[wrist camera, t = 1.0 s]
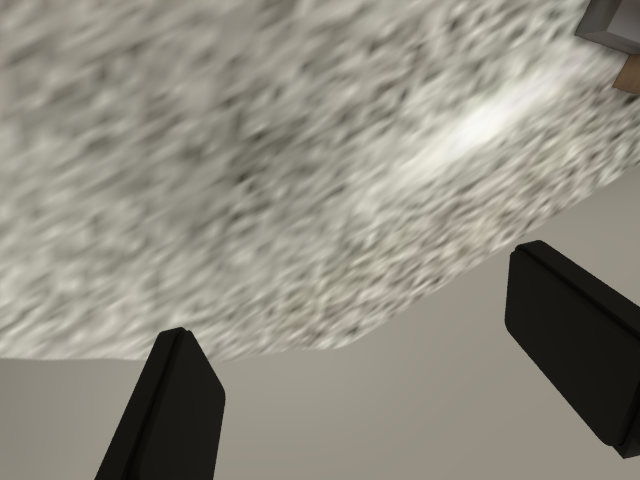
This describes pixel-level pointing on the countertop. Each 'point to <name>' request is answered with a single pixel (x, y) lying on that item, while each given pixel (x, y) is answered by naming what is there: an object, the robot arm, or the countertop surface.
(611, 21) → the cabinet side
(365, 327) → the countertop surface
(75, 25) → the countertop surface
